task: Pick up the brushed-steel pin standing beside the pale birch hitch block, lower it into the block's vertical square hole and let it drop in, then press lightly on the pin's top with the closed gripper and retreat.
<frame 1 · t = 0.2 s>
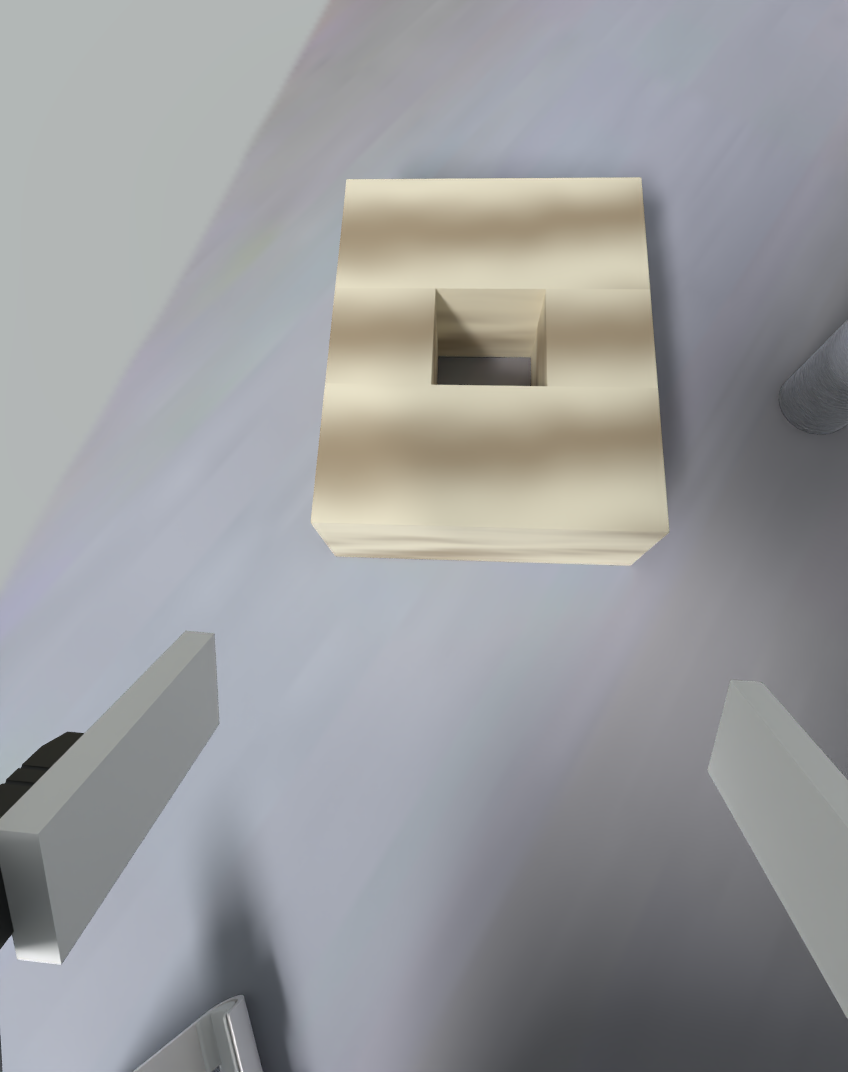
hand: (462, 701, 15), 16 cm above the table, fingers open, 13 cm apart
steel pin: (815, 402, 34), on the table
hitch block: (483, 397, 35), on the table
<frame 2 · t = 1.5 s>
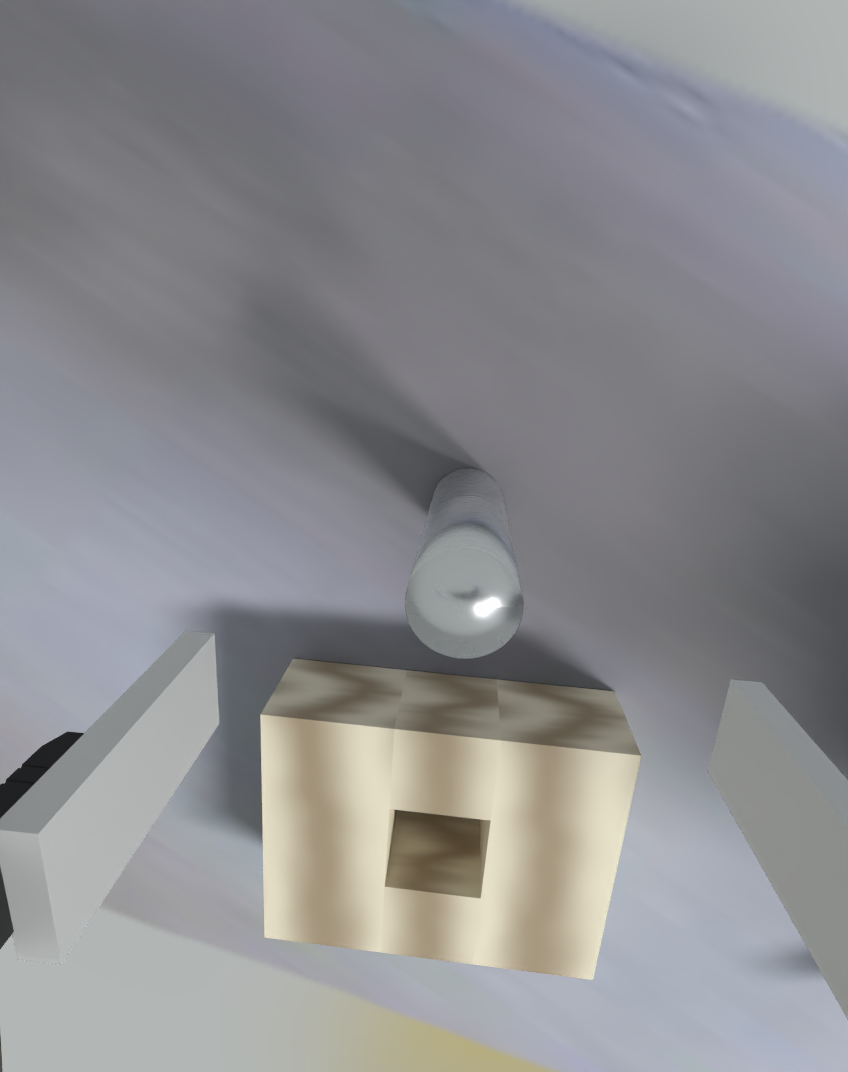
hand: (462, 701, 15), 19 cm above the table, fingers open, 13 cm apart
steel pin: (467, 503, 33), on the table
hitch block: (441, 780, 39), on the table
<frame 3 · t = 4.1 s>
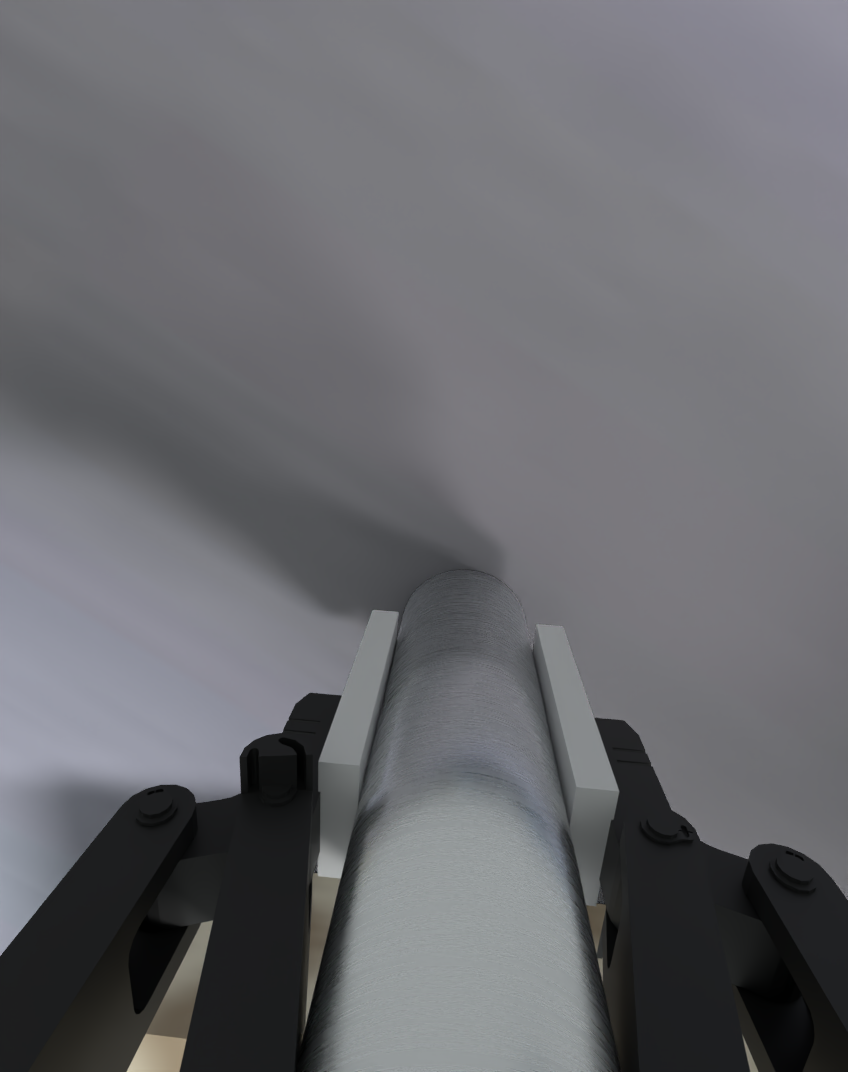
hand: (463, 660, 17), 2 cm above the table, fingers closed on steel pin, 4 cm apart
steel pin: (463, 627, 19), on the table, touching gripper
hitch block: (427, 1030, 25), on the table
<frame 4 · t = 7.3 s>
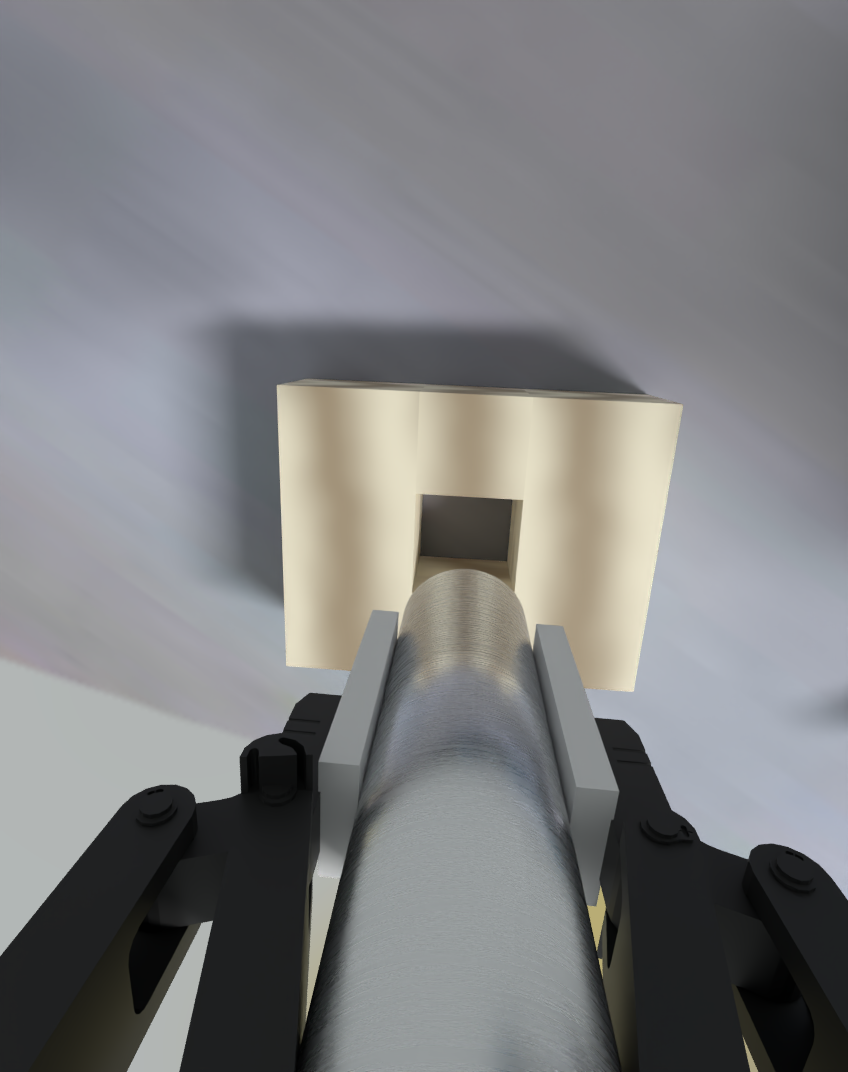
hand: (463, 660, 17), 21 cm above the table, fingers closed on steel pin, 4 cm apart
steel pin: (463, 626, 19), point 19 cm above the table, touching gripper
hitch block: (466, 516, 37), on the table
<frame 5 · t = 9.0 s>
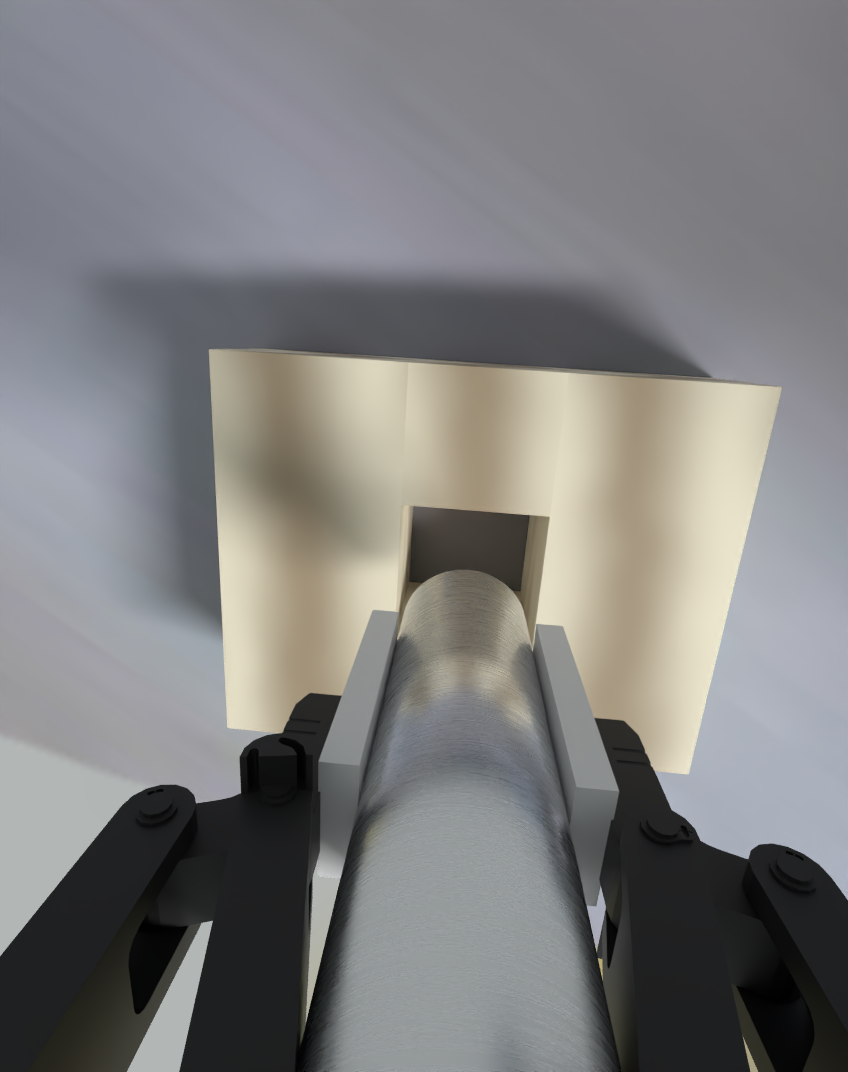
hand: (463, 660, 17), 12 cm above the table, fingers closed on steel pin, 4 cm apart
steel pin: (463, 627, 19), point 10 cm above the table, touching gripper
hitch block: (469, 533, 29), on the table
when the fingers open (9 cm above the table, at t = 10.4 s): steel pin drops 6 cm, resting in hitch block.
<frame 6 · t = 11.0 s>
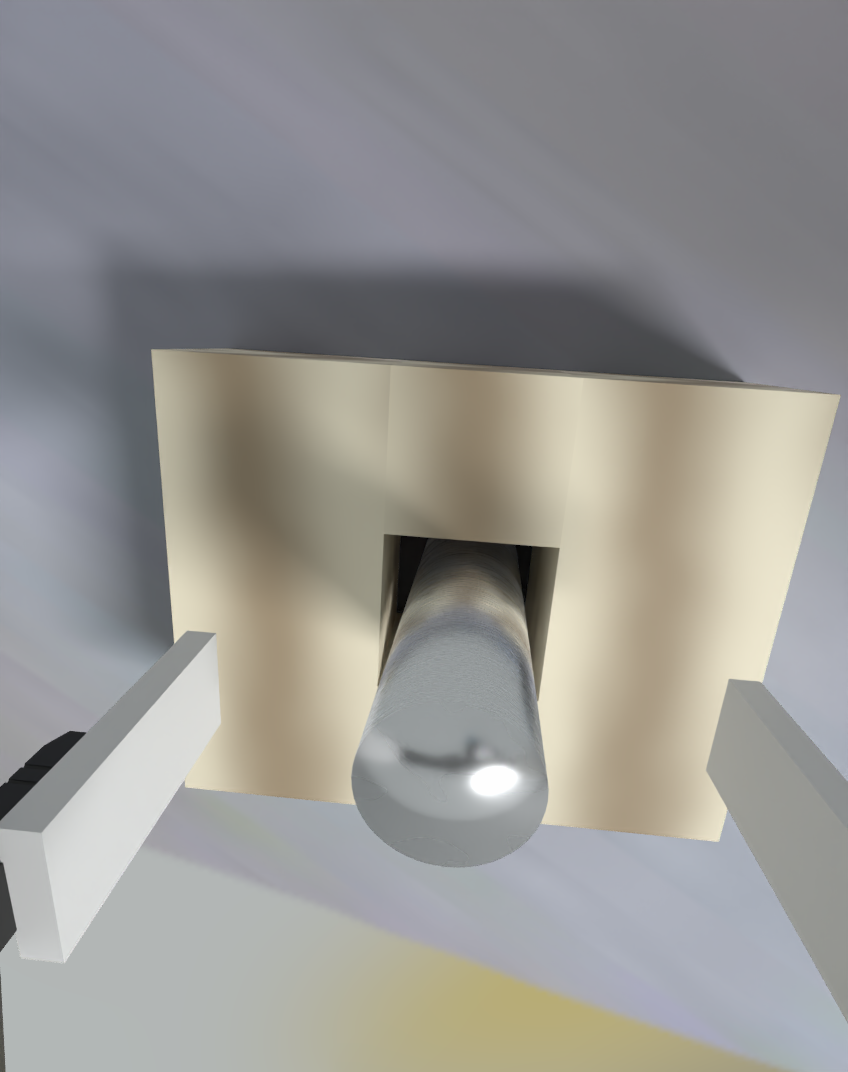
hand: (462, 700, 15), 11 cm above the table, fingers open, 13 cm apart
steel pin: (470, 559, 25), resting in hitch block
hitch block: (464, 558, 25), on the table
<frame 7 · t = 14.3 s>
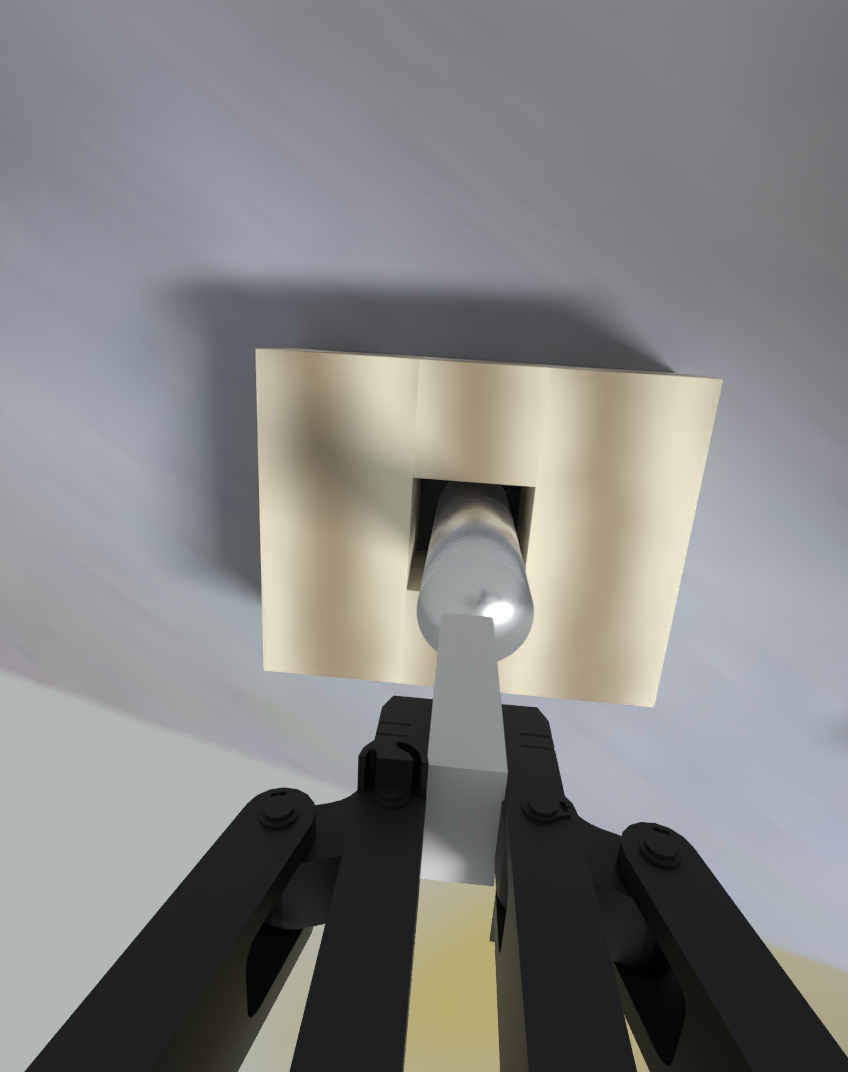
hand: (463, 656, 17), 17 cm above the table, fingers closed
steel pin: (473, 507, 33), resting in hitch block
hitch block: (468, 507, 33), on the table
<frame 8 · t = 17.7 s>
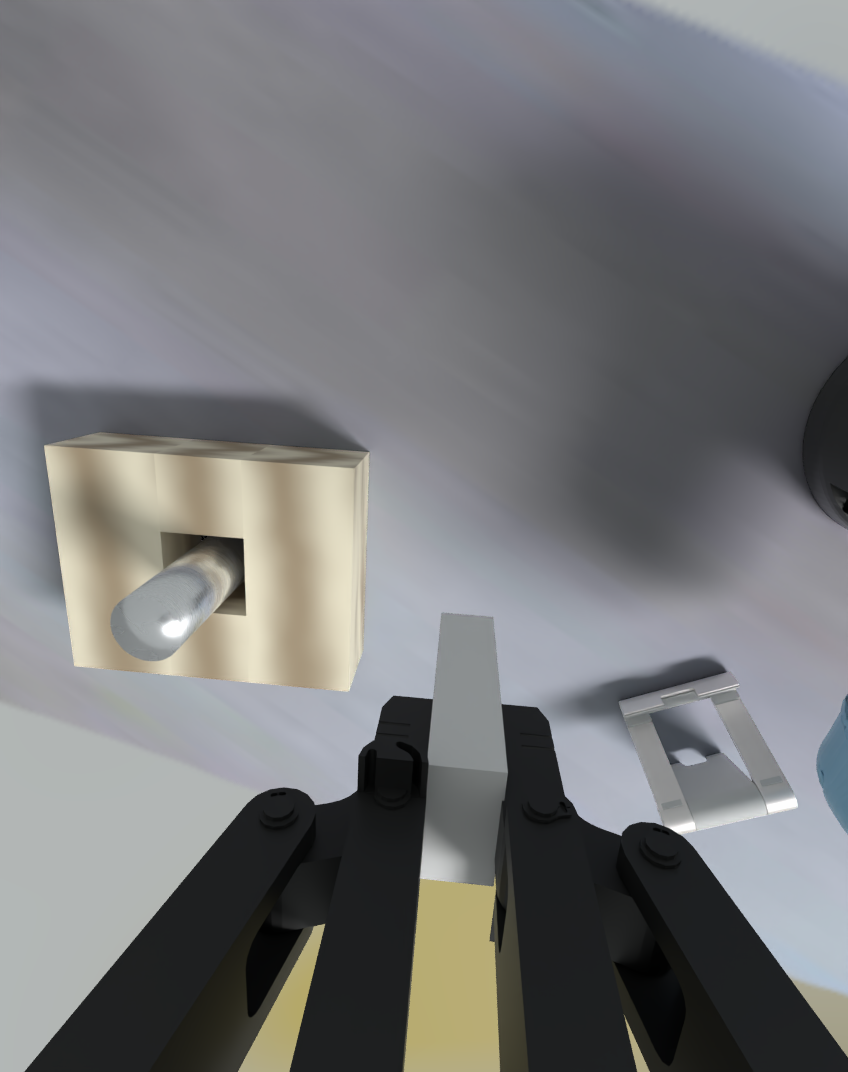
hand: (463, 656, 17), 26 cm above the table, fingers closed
steel pin: (240, 546, 45), resting in hitch block
hitch block: (237, 545, 45), on the table
portable electronic device stand: (681, 720, 48), on the table
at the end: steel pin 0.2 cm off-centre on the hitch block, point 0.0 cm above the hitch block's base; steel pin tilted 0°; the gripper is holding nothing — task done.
